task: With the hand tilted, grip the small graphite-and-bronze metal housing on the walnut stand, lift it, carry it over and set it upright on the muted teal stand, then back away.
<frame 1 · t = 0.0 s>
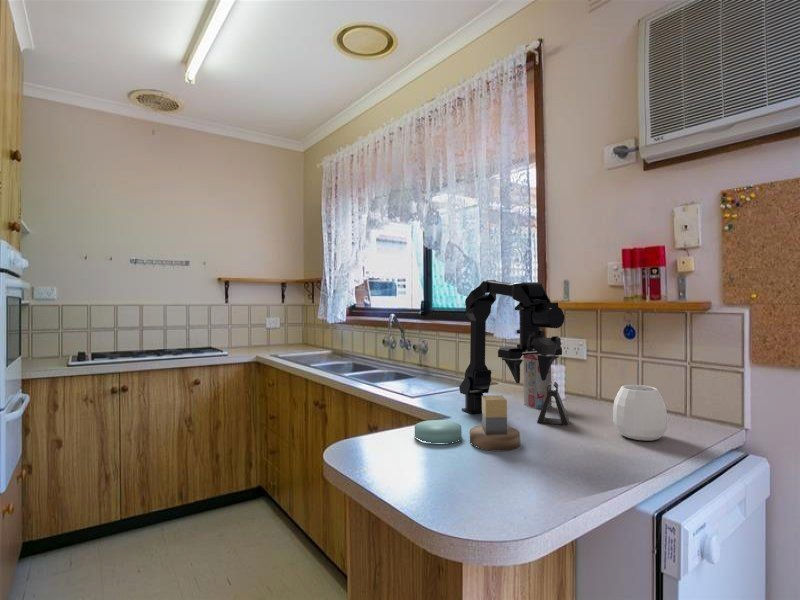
hand: (530, 381, 127), 15 cm above the counter, tool pointing down, fingers open, 9 cm apart
phone stand: (553, 422, 139), on the counter
stand a: (494, 442, 120), on the counter
juice carton: (537, 406, 159), on the counter
housing: (494, 431, 120), point 3 cm above the counter, touching stand a
stand b: (438, 437, 125), on the counter
white faceted vase: (639, 437, 123), on the counter
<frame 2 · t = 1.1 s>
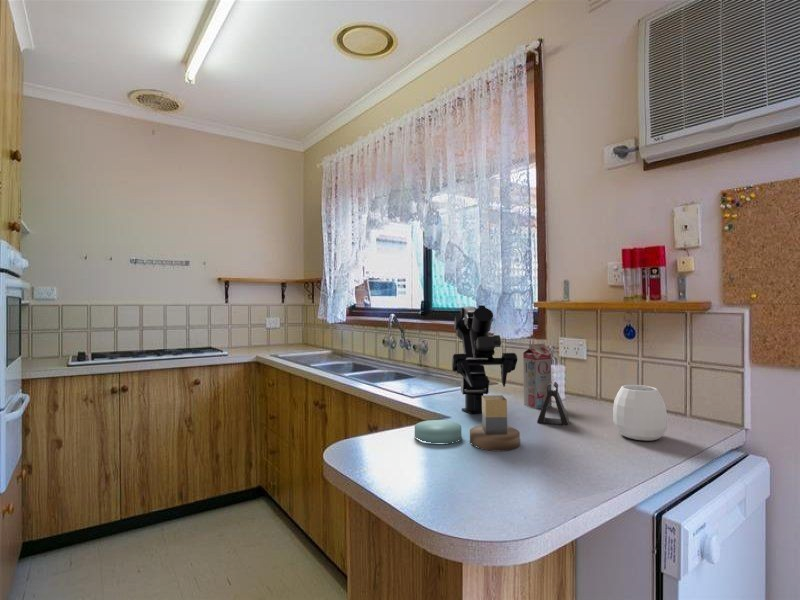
hand: (488, 386, 128), 13 cm above the counter, tool tilted 45°, fingers open, 9 cm apart
nothing on the counter moved.
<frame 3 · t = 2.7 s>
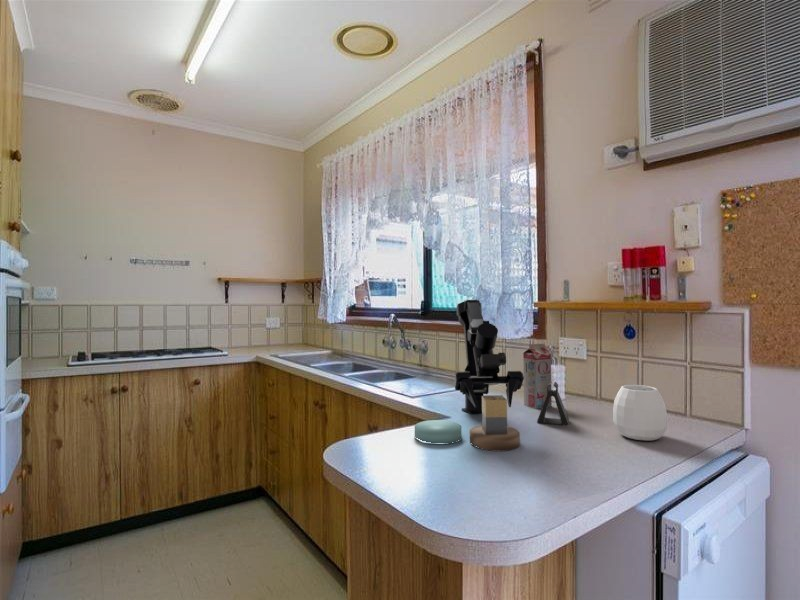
hand: (493, 406, 121), 9 cm above the counter, tool tilted 45°, fingers open, 9 cm apart
nothing on the counter moved.
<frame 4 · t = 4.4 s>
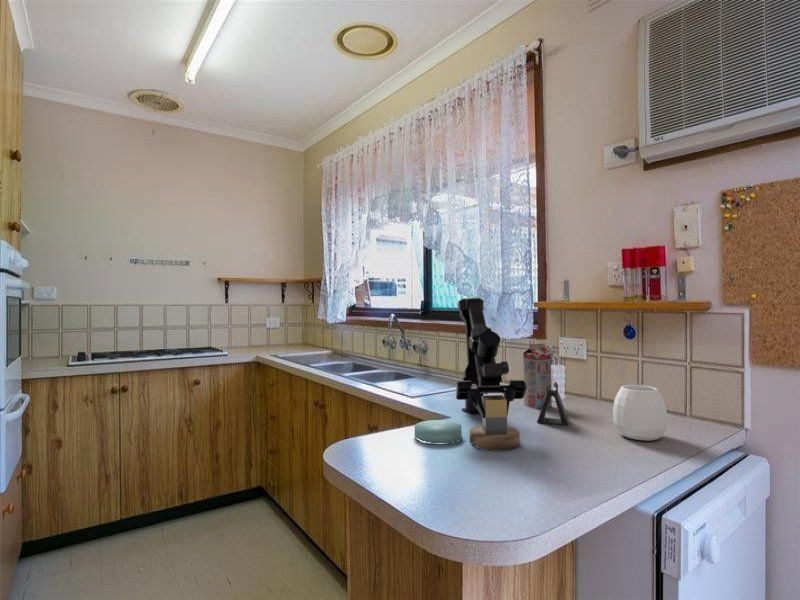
hand: (495, 417, 118), 7 cm above the counter, tool tilted 45°, fingers closed on housing, 5 cm apart
housing: (494, 431, 120), point 3 cm above the counter, touching gripper, stand a
everything else where it was.
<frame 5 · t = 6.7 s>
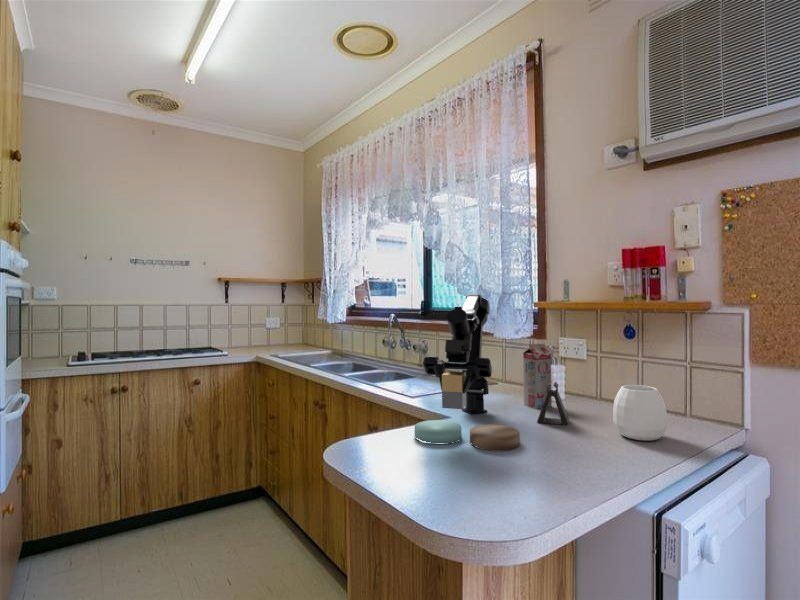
hand: (453, 391, 121), 13 cm above the counter, tool tilted 45°, fingers closed on housing, 5 cm apart
housing: (454, 406, 123), point 9 cm above the counter, touching gripper
everything else where it was.
when the fingers open (9 cm above the counter, at t = 8.8 s): housing drops 1 cm, resting on stand b.
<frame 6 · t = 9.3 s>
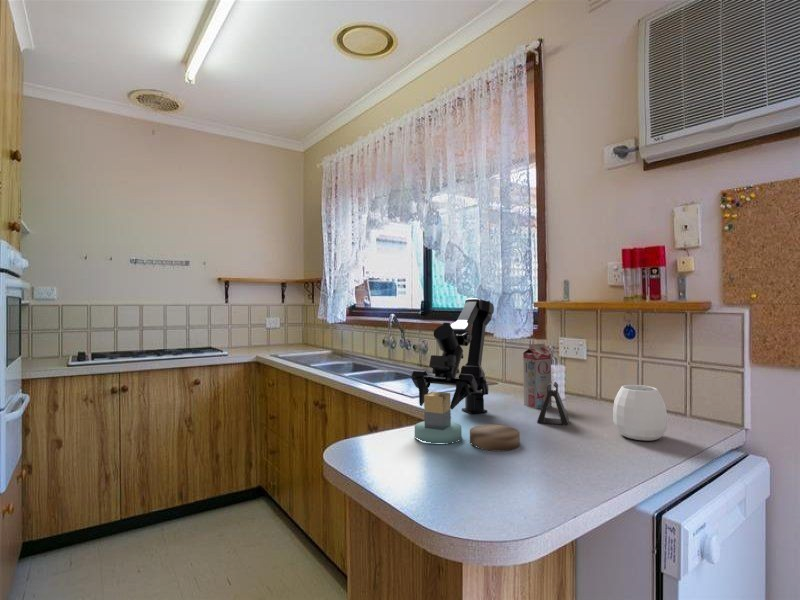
hand: (435, 406, 124), 9 cm above the counter, tool tilted 45°, fingers open, 9 cm apart
housing: (437, 426, 125), point 3 cm above the counter, touching stand b
everything else where it was.
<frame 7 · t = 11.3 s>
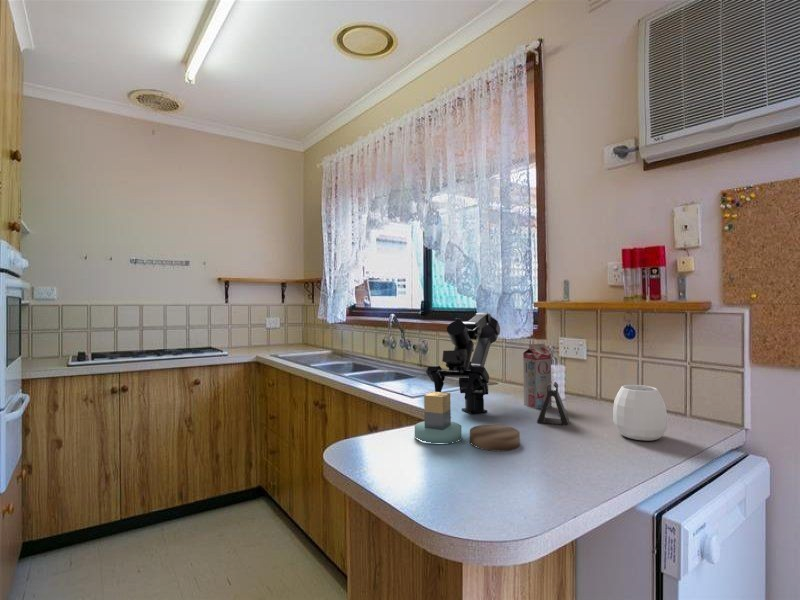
hand: (450, 398, 132), 9 cm above the counter, tool tilted 40°, fingers open, 9 cm apart
nothing on the counter moved.
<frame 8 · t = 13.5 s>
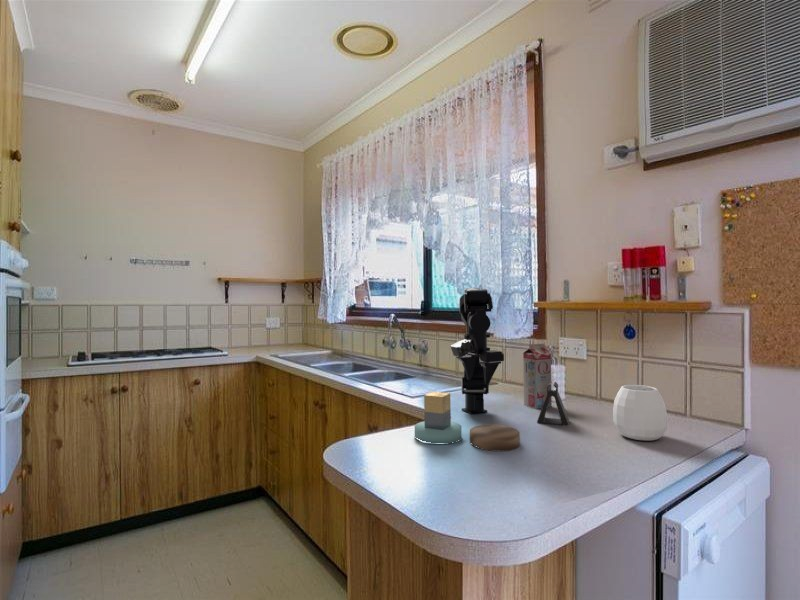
hand: (477, 382, 137), 13 cm above the counter, tool pointing down, fingers open, 9 cm apart
nothing on the counter moved.
at the end: housing 0.0 cm off-centre on the stand b, point 3.0 cm above the stand b's base; housing tilted 0°; the gripper is holding nothing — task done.
